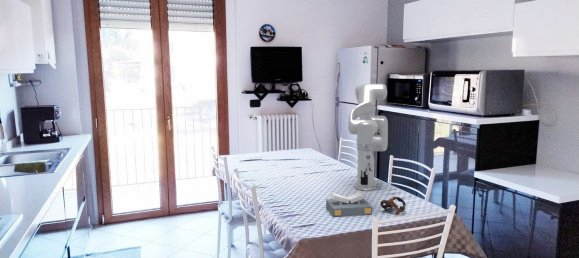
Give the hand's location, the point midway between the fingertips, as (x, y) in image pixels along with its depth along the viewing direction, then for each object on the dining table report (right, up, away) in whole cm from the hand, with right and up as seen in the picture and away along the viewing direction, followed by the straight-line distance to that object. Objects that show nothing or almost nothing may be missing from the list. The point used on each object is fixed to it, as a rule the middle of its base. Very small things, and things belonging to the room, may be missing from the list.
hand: (364, 184), depth 190 cm
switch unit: (-8, -13, +1) cm, 15 cm away
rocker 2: (-3, -8, +1) cm, 8 cm away
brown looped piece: (+13, -13, 0) cm, 19 cm away
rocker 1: (-12, -8, 0) cm, 14 cm away
